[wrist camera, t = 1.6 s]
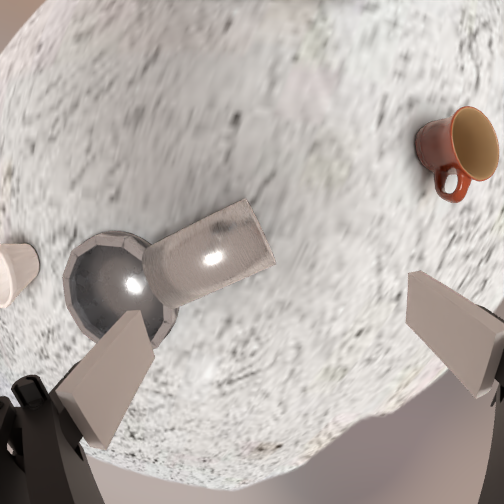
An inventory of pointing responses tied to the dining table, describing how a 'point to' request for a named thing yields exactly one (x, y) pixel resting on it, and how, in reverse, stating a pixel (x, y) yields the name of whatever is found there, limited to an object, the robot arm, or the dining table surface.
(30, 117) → the dining table surface
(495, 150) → the mug
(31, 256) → the cup
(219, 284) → the grey saucepan
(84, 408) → the robot arm
